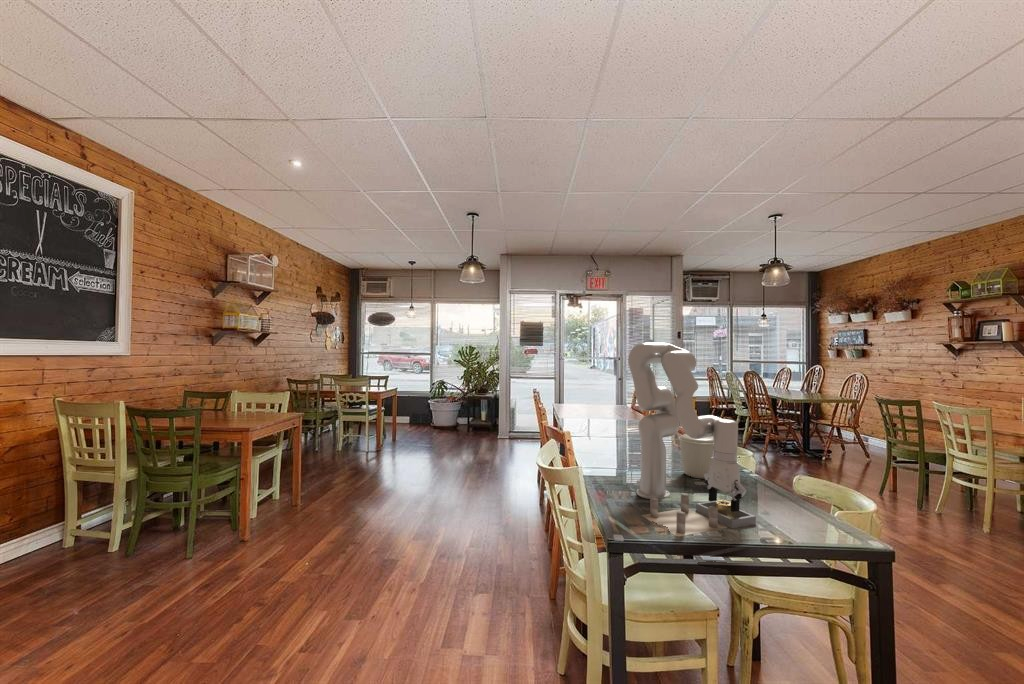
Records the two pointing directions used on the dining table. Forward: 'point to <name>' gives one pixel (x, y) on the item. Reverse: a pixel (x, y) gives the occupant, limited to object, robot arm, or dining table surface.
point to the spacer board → (689, 522)
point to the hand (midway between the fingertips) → (723, 505)
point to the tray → (741, 521)
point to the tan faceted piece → (724, 508)
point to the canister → (696, 455)
